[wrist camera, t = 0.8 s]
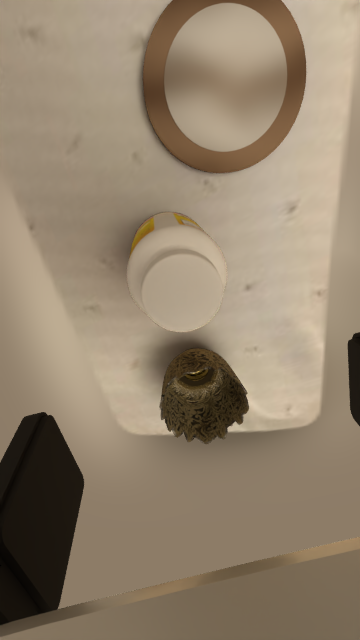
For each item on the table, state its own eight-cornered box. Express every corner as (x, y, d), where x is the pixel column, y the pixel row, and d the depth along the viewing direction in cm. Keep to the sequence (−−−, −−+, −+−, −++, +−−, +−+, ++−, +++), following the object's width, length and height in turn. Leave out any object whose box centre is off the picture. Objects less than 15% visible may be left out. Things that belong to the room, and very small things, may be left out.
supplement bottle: (138, 288, 32) (131, 355, 20) (126, 216, 29) (110, 243, 18) (209, 279, 32) (242, 340, 20) (203, 206, 30) (238, 227, 18)
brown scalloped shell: (195, 314, 33) (207, 353, 26) (243, 358, 36) (266, 405, 29) (143, 363, 35) (141, 412, 28) (192, 402, 38) (202, 457, 30)
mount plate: (122, 12, 24) (120, 1, 22) (288, -35, 24) (298, -50, 22) (166, 189, 29) (167, 189, 27) (305, 151, 28) (314, 150, 27)
